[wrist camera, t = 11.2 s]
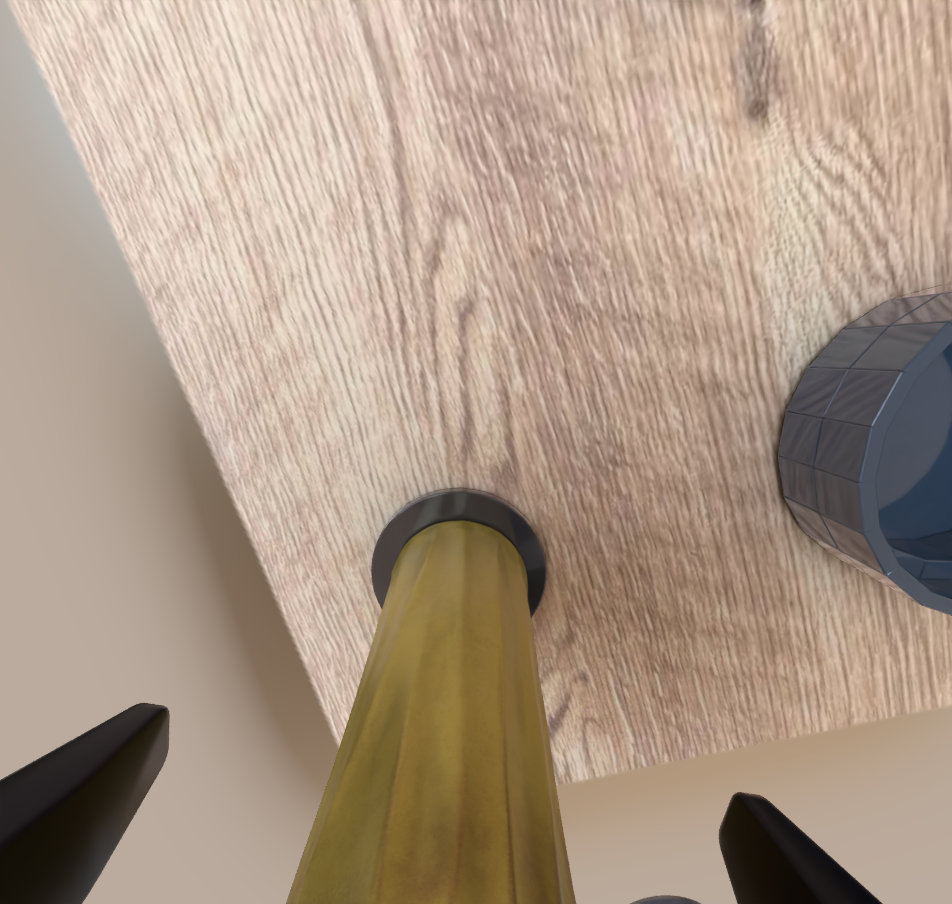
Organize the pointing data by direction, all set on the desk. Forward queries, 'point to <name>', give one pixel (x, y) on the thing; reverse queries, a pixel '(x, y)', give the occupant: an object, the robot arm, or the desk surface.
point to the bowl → (879, 447)
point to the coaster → (455, 508)
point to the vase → (444, 744)
